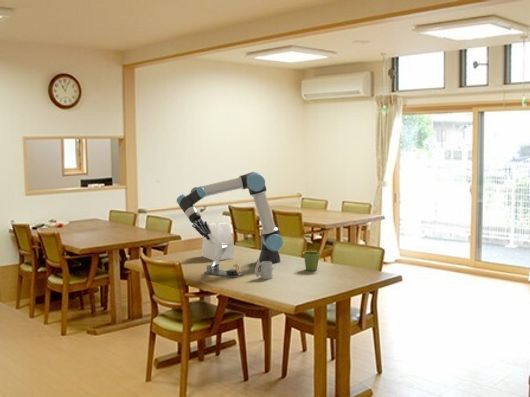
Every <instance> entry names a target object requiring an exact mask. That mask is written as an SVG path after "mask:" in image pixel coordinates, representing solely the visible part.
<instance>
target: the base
mask: <svg viewBox="0 0 530 397" xmlns="http://www.w3.org/2000/svg"><path fill="white" fill-rule="evenodd" d="M210 265H211V264H210ZM210 265H209V264H208V265H206V271H203V273H204V274H206V275H213V276H219V277H226V278H232V279H237V278H239V277H242V276H243V277H244V275H245V274H244V273H243V272H240V264H238V263H234V264H233V267H235V269H234V268H231V269H227V270H224V269H220V263H217V265H216V267H214V268H212V266H210Z"/></svg>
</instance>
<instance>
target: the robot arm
mask: <svg viewBox="0 0 530 397" xmlns="http://www.w3.org/2000/svg"><path fill="white" fill-rule="evenodd" d="M246 189H248V193H249V196H250V197H252V198H253V202H254V205H255V208H256V211H257V216H258V218H259V221H260V225H261V228H262V229H261V232H260V234H261V235H260V236H261V237H260V238H261V239H260V240H261V241H260V244H261V245H260V253H259V256H258V260H259V262H260V263H262V262H263V261H270V262H272V264H277V263H280V262H281V256H280V253H279V250H280V249H281V248H282V247H283V244H284V239H283V238H282V236H281V234H280V230H279V227H278V226H276V224H275V221H274V218H273V214H272V210H271V208H270V204H269V201H268V199H267V198H268V197H267V194H266V193H267V186H266V179H265V178H264V176H263V175H262V174H261V173H259V172H257V171H256V172H254V171H251V172H248V173H245V174H242V175H239V176H238V177H236V178H232V179H227V180H224V181H223V180H221V181H218V182H214V183H208V184H206V185H200V186H197V187H196V186H195V187H193V188H192V189H191V190H190V193H189V194H187V195H186V194H185V193H182V194H181V195H179V196H178V197H177V198H176V203H177V204H178V206H179V207H180V208H181V210H182V212H184V214H185V216H186V217H187V218H188V220H189V222H190V223H192V225H191V226H192V228H194V230H196V232H198V233H199V235H201V236H202V237H206V238H207V240H208V241H209V242H210V244H211V245H212V244H213V243H214V242H215V241H214V240H213V238H212V236H211V235H210V233H211V231H210V229H209V227H208V225H207V224H208V222H207V221H206V220H205V221H204V220H203V219H202V218H201V217H202V216H201V214H200V213H199V211H198V209H196V207H195V206H194V205H195V204H196V203H198V202H199V201H201V200H203V199H204V198H205V197H209V196H215V195H219V194H223V193H227V192H232V191H236V190H246Z"/></svg>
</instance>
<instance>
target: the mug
mask: <svg viewBox="0 0 530 397" xmlns="http://www.w3.org/2000/svg"><path fill="white" fill-rule="evenodd" d="M259 267H260V271H259ZM254 275H255V276H256V278H259V277H260V279H261V280H270V279H273V276H274V275H273V263H272V262H270V261H263V262H259V259H256V264H255V268H254Z"/></svg>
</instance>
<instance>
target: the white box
mask: <svg viewBox="0 0 530 397" xmlns="http://www.w3.org/2000/svg"><path fill="white" fill-rule="evenodd" d="M207 225H208V227H209V229H210V231H211V233H210V235H211V236H212V238H213V240H214V241H215V242H214V243H213V244H212V245H211V244H210V242H209V241H208V240H207V238H206V237H204V236H202V239H201V240H202V241H201V245H202V246H201V247H202V248H201V249H202V250H201V255H202V257H203V258H206V259H209V260H212V261H213V260H214V258H215V257H216V255H217V253H218V252H219V250H220V248H221V247H222V246H225V245H227V246H228V247H227V249H226V250H225V252H224V254H223V255H222V257H221V258H220V260H219V261H224V260H231V259H232V260H233V259H235V248H234V247H235V246H234V245H235V242H234V239H233V236H232V233H231V229H230V226H229V225H230V224H229V222H227V221H226V222H219V223H218V226H217V224H216V223H214V222H213V223H207Z"/></svg>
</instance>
